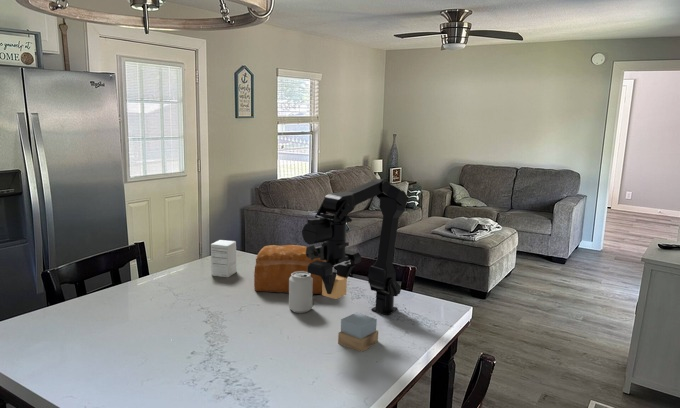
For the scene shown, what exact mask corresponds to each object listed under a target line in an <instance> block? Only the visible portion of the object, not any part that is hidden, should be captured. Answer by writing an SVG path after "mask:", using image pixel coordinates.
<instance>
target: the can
mask: <svg viewBox="0 0 680 408" xmlns="http://www.w3.org/2000/svg"><path fill="white" fill-rule="evenodd" d="M312 290H313V278H312V277H311V274H310V273H308V272H304V271H298V272H294V273H292V274H291V277H290V278H289V293H288V308H289V309H290V311H292V312H294V313H297V314H304V313H307V312H309V311H310V310H312V308H313V294H312Z"/></svg>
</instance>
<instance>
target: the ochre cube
mask: <svg viewBox="0 0 680 408" xmlns="http://www.w3.org/2000/svg"><path fill="white" fill-rule="evenodd" d="M347 283H348V278H346V277H342V276H338V275H336V279H335V282H334V286H333V289H332V292H331V294H327V292H326V289H325V286H324V283H323V280H322V294H321V296H324V297H327V298H330V299H335V300H337V299H339V298H342V297H345V295H347Z"/></svg>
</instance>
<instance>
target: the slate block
mask: <svg viewBox="0 0 680 408" xmlns="http://www.w3.org/2000/svg"><path fill="white" fill-rule="evenodd" d="M340 320H341V321H340V332H344V333H346V334H349V335H351V336H354V337H357V338H359V339H362V338H364V337H366V336H368V335H370V334H371V333H373V332H375V331H376V330H377V324H378V323H377V320H378V319H377V318H374V317H372V316H369V315H366V314H363V313H360V312H358V311H357V312H354V313H352V314H350V315H348V316H345V317H344V318H341V319H340Z"/></svg>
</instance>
